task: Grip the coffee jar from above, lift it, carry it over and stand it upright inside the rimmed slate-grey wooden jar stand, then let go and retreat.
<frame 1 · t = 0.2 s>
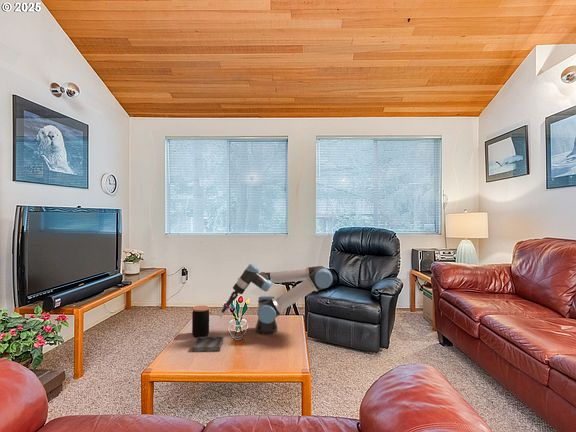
hand: (221, 313, 215), 16 cm above the table, tool tilted 35°, fingers open, 13 cm apart
coffee jar: (200, 335, 219), on the table
jar stand: (208, 346, 202), on the table
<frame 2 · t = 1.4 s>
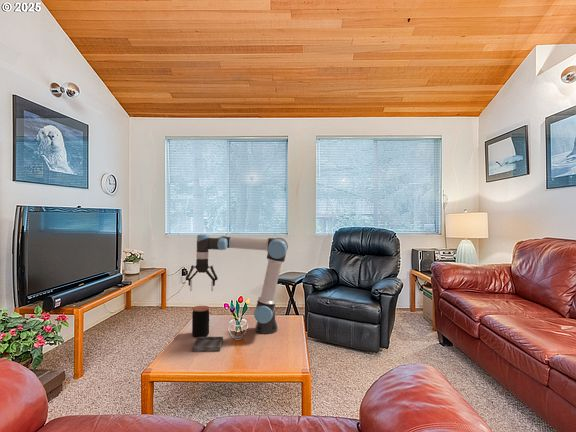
hand: (201, 290, 219), 29 cm above the table, tool pointing down, fingers open, 13 cm apart
nothing on the table moved.
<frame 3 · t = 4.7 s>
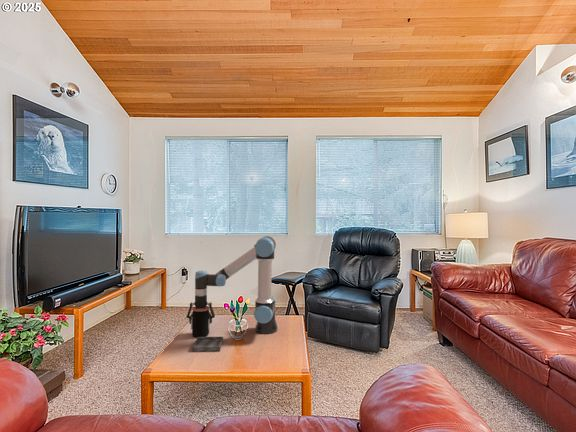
hand: (200, 328, 219), 4 cm above the table, tool pointing down, fingers closed on coffee jar, 10 cm apart
coffee jar: (200, 335, 219), on the table, touching gripper
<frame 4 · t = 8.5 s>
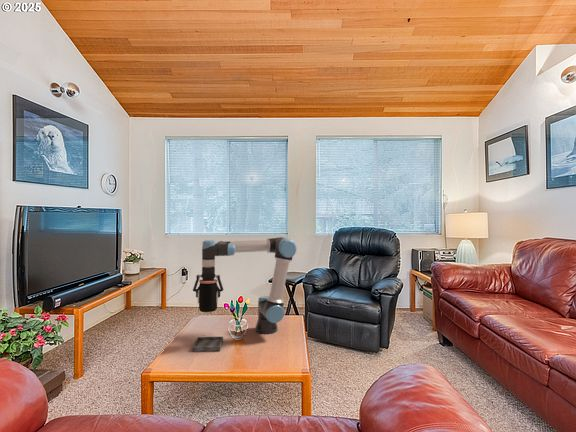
hand: (208, 302, 203), 26 cm above the table, tool pointing down, fingers closed on coffee jar, 10 cm apart
coffee jar: (208, 310, 203), point 21 cm above the table, touching gripper
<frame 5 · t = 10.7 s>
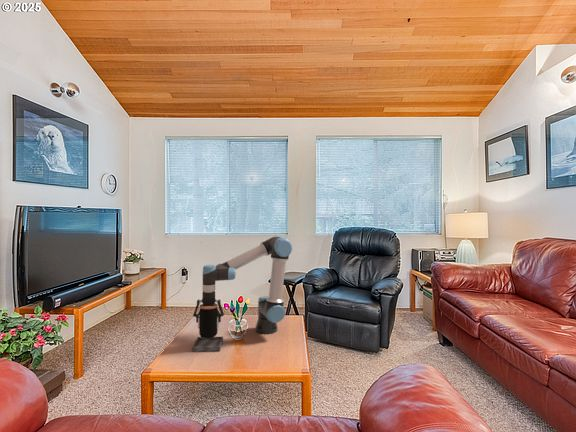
hand: (208, 327, 202), 11 cm above the table, tool pointing down, fingers closed on coffee jar, 10 cm apart
coffee jar: (208, 335, 202), point 6 cm above the table, touching gripper
when the fingers open (7 cm above the table, at t = 12.5 s): coffee jar drops 1 cm, resting on jar stand.
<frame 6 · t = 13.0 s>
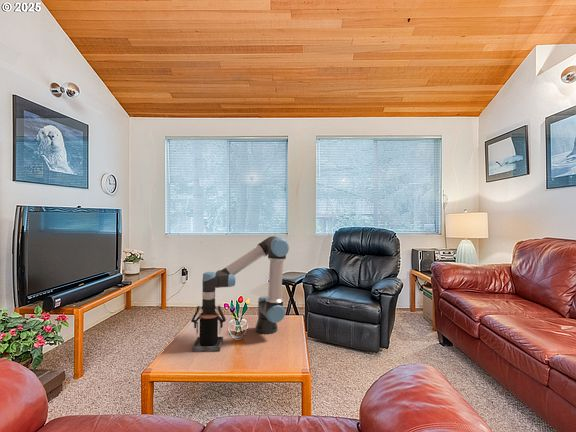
hand: (208, 333, 202), 8 cm above the table, tool pointing down, fingers open, 13 cm apart
coffee jar: (208, 344, 202), point 1 cm above the table, touching jar stand
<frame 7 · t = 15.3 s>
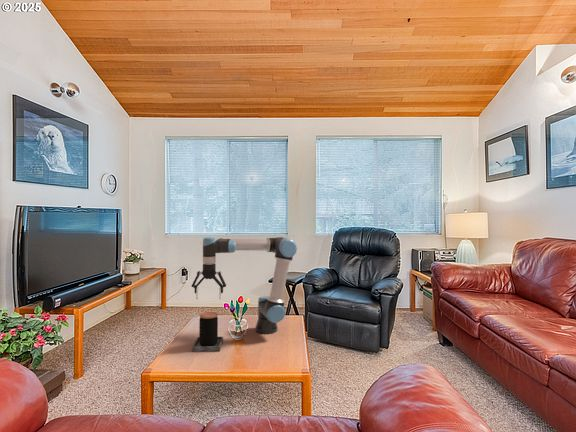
hand: (208, 298, 201), 29 cm above the table, tool pointing down, fingers open, 13 cm apart
nothing on the table moved.
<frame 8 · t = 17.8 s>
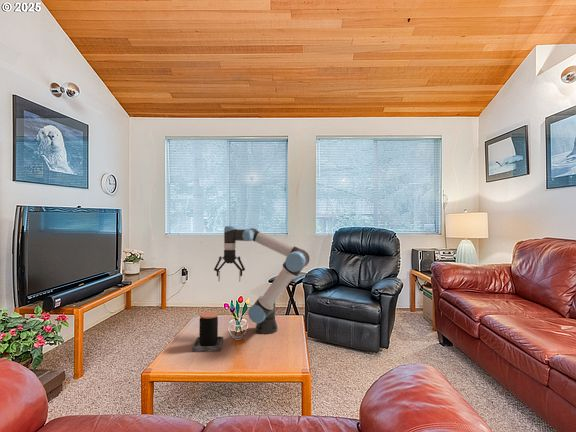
hand: (229, 281, 223), 35 cm above the table, tool pointing down, fingers open, 13 cm apart
nothing on the table moved.
at the end: coffee jar 0.1 cm off-centre on the jar stand, point 1.0 cm above the jar stand's base; coffee jar tilted 0°; the gripper is holding nothing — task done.
